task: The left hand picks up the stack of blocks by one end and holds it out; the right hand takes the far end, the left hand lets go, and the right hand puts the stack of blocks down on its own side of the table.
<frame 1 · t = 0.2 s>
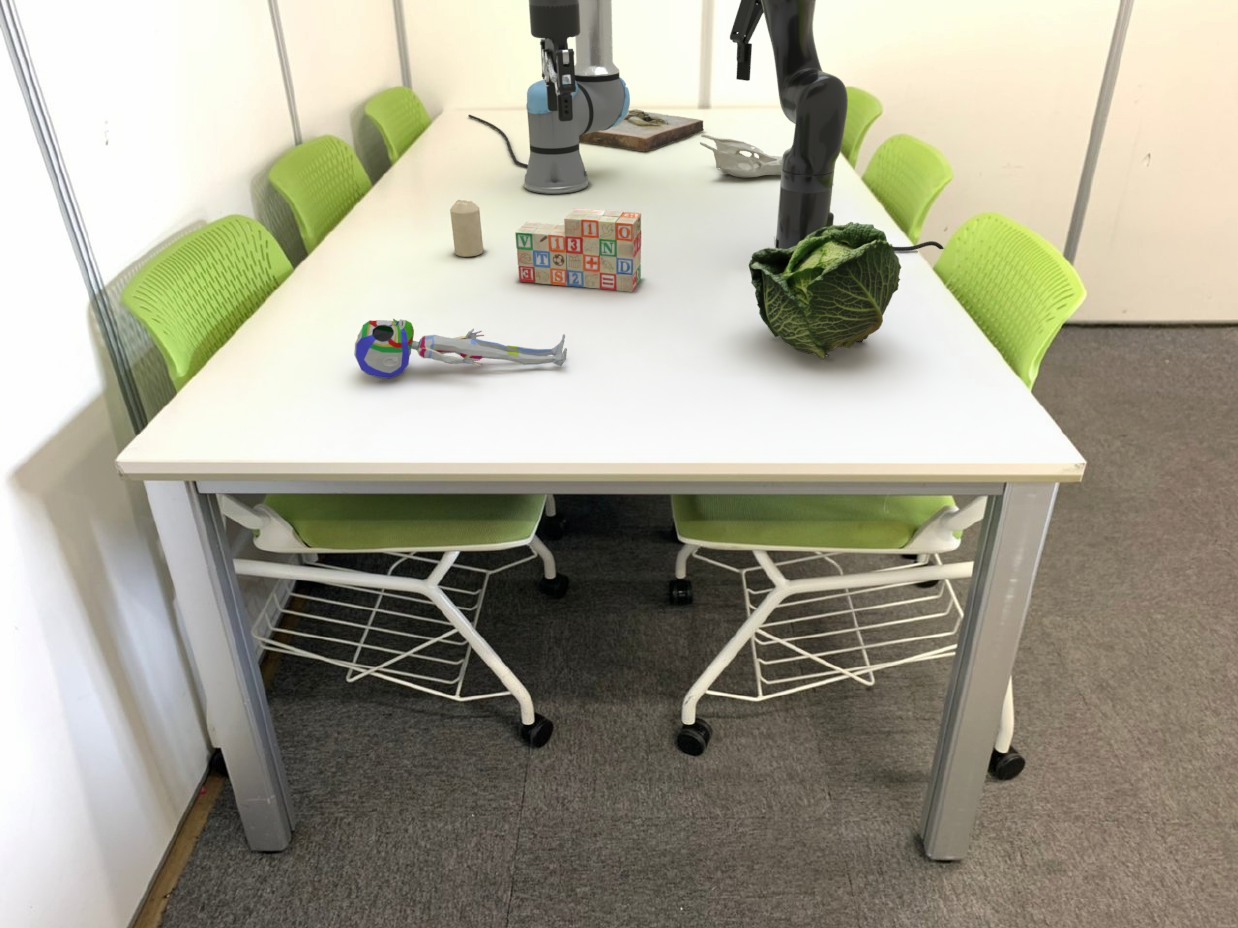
left hand: (763, 75, 179), 28 cm above the table, tool pointing down, fingers open, 13 cm apart
right hand: (560, 115, 142), 29 cm above the table, tool pointing down, fingers open, 8 cm apart
anatomical model: (749, 175, 221), on the table
stack of blocks: (580, 281, 162), on the table
toy: (464, 369, 132), on the table
plaque: (633, 136, 259), on the table
candle: (469, 253, 175), on the table
vegetable: (819, 345, 137), on the table
blue-tipped grey rod: (602, 236, 183), on the table
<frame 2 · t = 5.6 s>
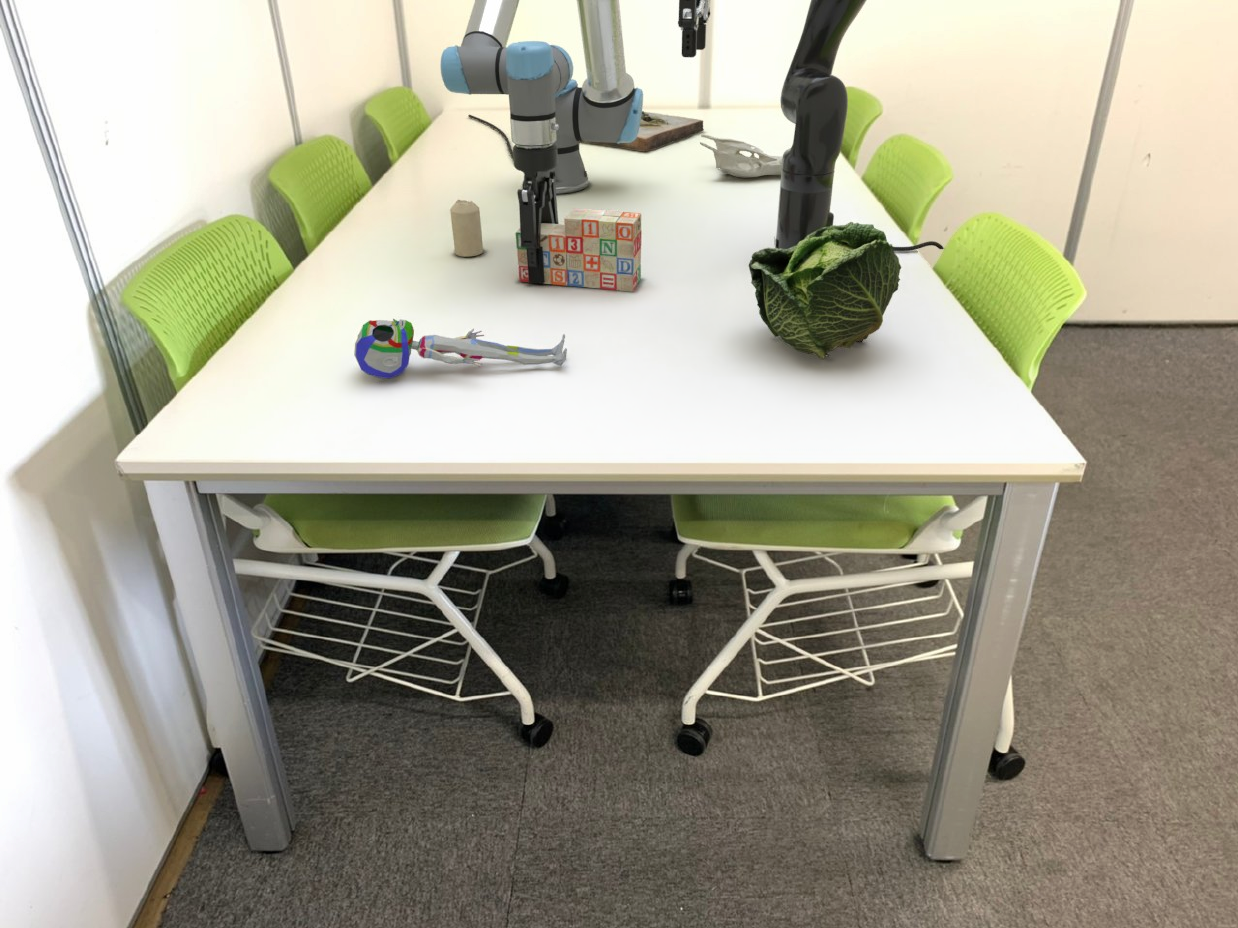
left hand: (542, 275, 163), 1 cm above the table, tool pointing down, fingers closed on stack of blocks, 6 cm apart
right hand: (693, 53, 143), 37 cm above the table, tool pointing down, fingers open, 8 cm apart
stack of blocks: (580, 281, 162), on the table, touching left hand
everything else where it was.
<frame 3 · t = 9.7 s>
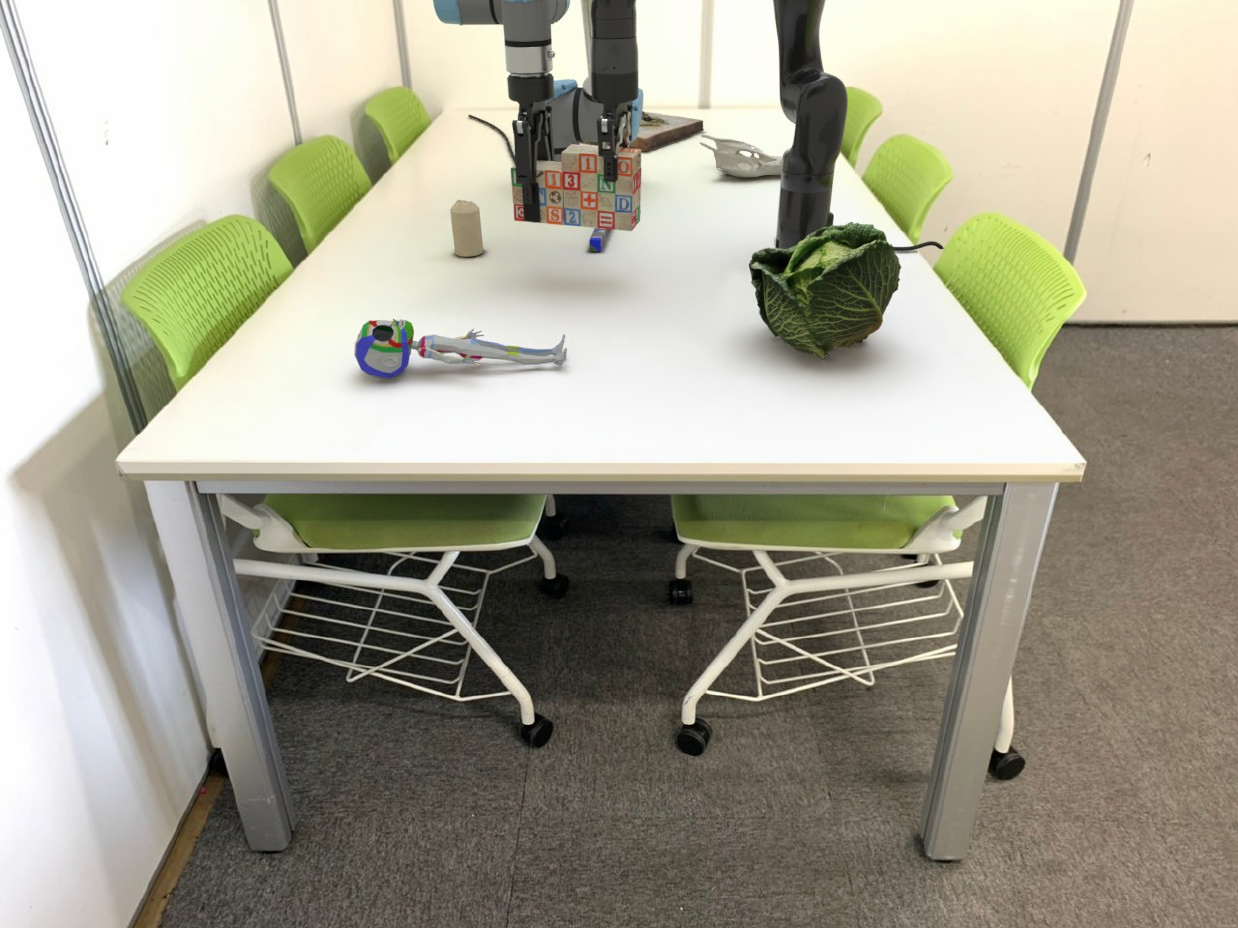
left hand: (539, 215, 157), 12 cm above the table, tool pointing down, fingers closed on stack of blocks, 6 cm apart
right hand: (616, 175, 150), 19 cm above the table, tool pointing down, fingers closed on stack of blocks, 6 cm apart
stack of blocks: (577, 221, 156), point 11 cm above the table, touching left hand, right hand
everything else where it was.
when the left hand's fingers open (12 cm above the table, at t = 10.7 s): stack of blocks stays where it is, held by the right hand.
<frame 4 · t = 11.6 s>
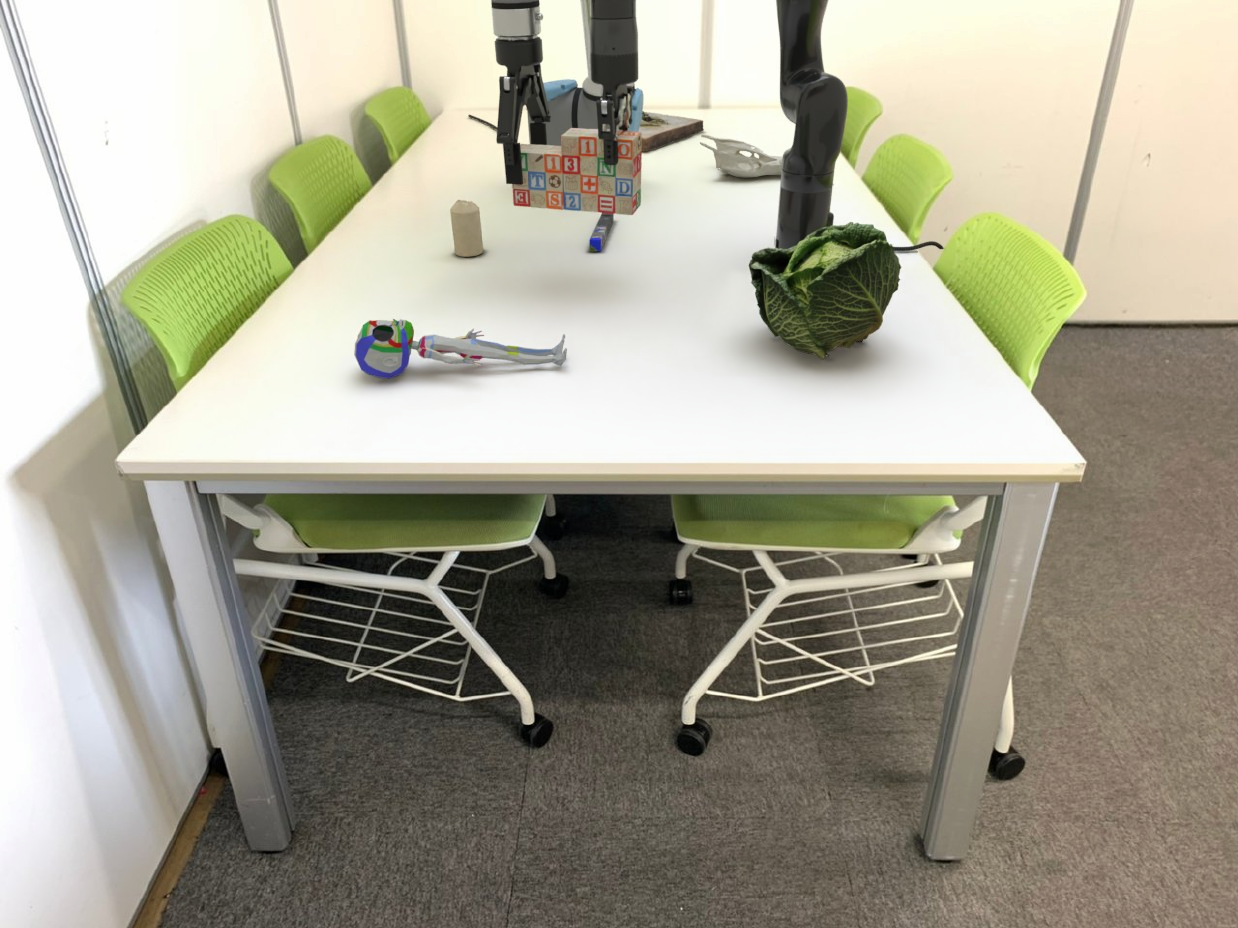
left hand: (528, 172, 154), 19 cm above the table, tool pointing down, fingers open, 13 cm apart
right hand: (616, 159, 148), 22 cm above the table, tool pointing down, fingers closed on stack of blocks, 6 cm apart
stack of blocks: (577, 206, 154), point 14 cm above the table, touching right hand
everything else where it was.
when the right hand's fingers open (10 cm above the table, at t = 17.3 s): stack of blocks drops 2 cm, on the table.
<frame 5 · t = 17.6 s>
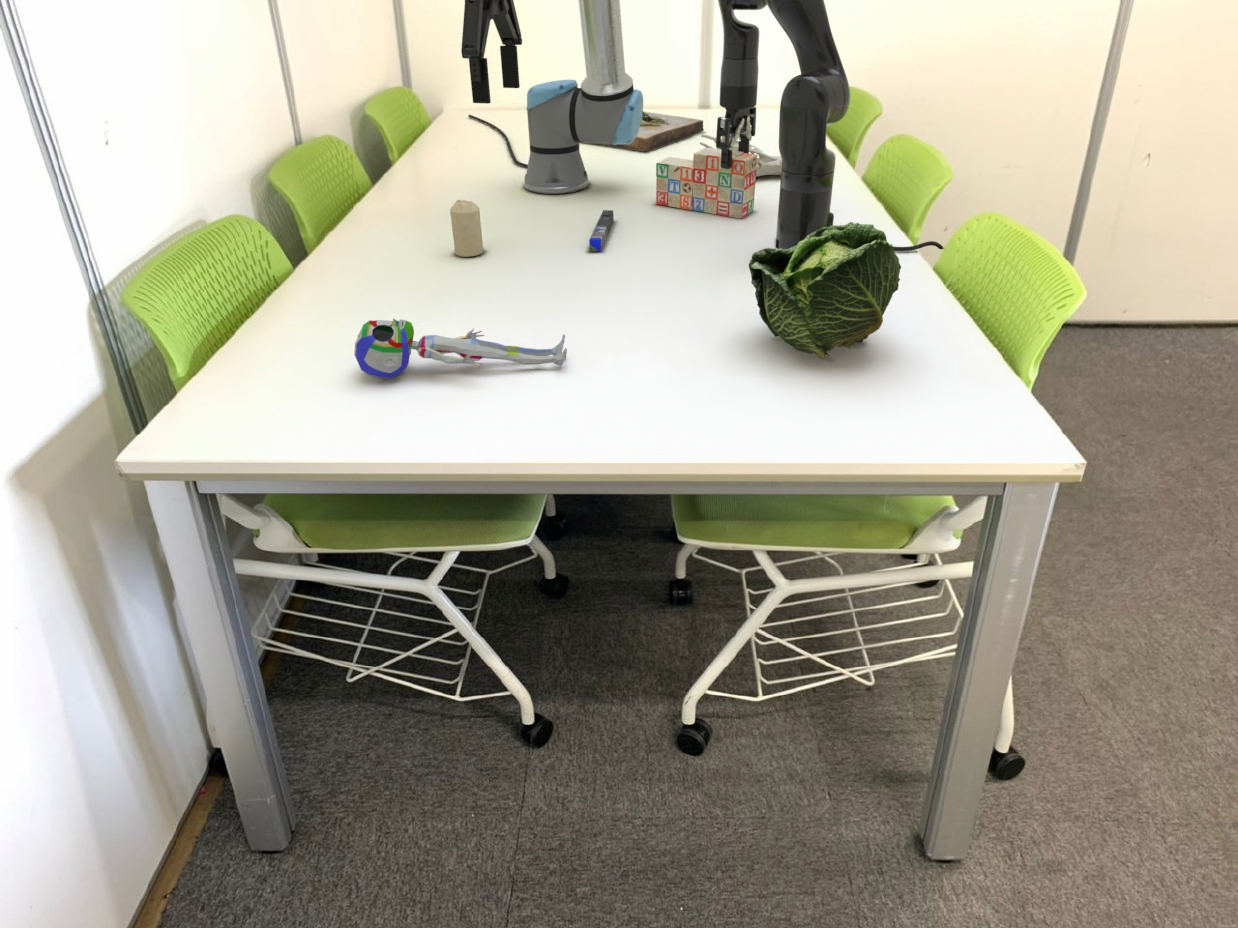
left hand: (497, 95, 148), 31 cm above the table, tool pointing down, fingers open, 13 cm apart
right hand: (734, 163, 189), 10 cm above the table, tool pointing down, fingers open, 8 cm apart
stack of blocks: (704, 208, 198), on the table
everything else where it was.
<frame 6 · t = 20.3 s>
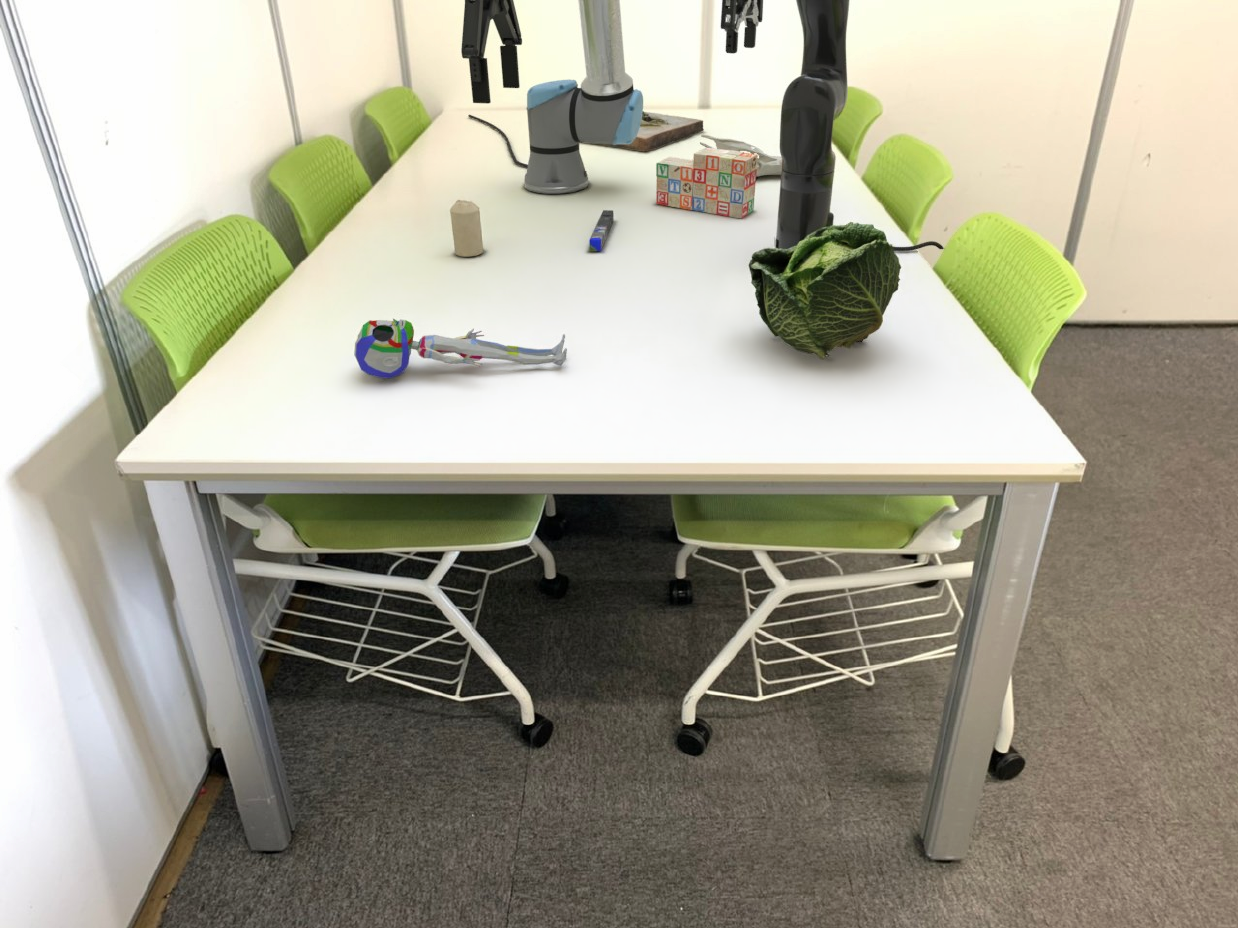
left hand: (497, 95, 148), 31 cm above the table, tool pointing down, fingers open, 13 cm apart
right hand: (740, 50, 178), 32 cm above the table, tool pointing down, fingers open, 8 cm apart
nothing on the table moved.
at the end: stack of blocks inside the target area (6.8 cm from its centre), on the table; the left hand is holding nothing; the right hand is holding nothing; stack of blocks at rest at the end (0.0 cm/s) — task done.
